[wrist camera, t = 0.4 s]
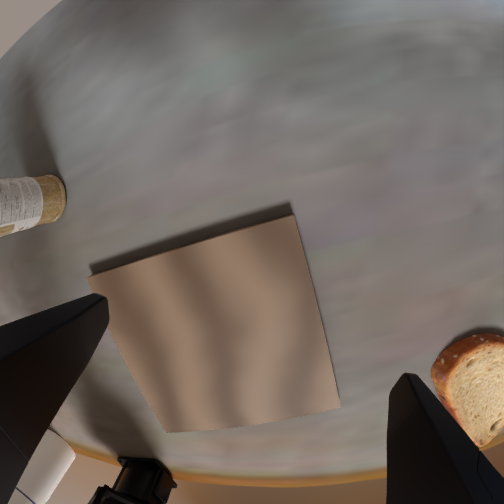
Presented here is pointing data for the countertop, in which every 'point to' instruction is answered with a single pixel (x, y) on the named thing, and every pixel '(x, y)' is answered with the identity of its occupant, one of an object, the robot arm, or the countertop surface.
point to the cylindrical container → (43, 470)
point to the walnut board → (223, 330)
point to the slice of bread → (473, 384)
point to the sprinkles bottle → (30, 202)
